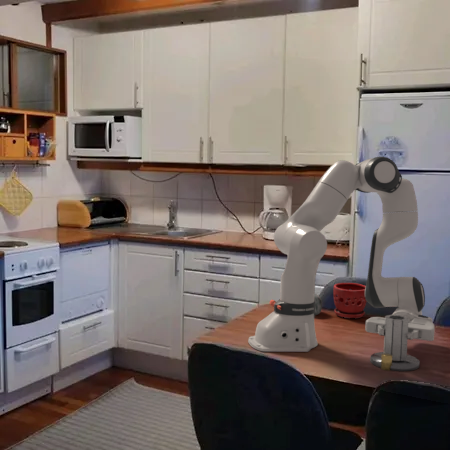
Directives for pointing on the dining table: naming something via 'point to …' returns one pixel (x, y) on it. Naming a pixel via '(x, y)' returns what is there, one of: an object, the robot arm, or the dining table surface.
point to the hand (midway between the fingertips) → (395, 334)
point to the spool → (317, 304)
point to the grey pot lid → (394, 362)
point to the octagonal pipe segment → (396, 337)
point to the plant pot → (349, 300)
